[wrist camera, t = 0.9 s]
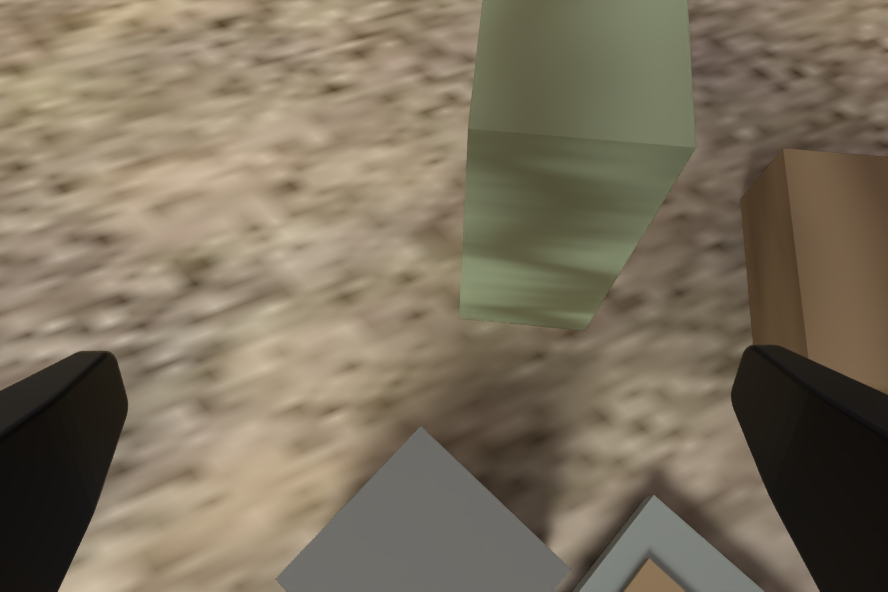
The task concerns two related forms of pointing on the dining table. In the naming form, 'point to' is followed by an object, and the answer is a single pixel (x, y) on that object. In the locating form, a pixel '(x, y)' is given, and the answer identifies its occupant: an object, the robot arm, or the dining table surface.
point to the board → (662, 558)
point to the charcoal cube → (424, 535)
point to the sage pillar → (569, 151)
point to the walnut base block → (821, 260)
